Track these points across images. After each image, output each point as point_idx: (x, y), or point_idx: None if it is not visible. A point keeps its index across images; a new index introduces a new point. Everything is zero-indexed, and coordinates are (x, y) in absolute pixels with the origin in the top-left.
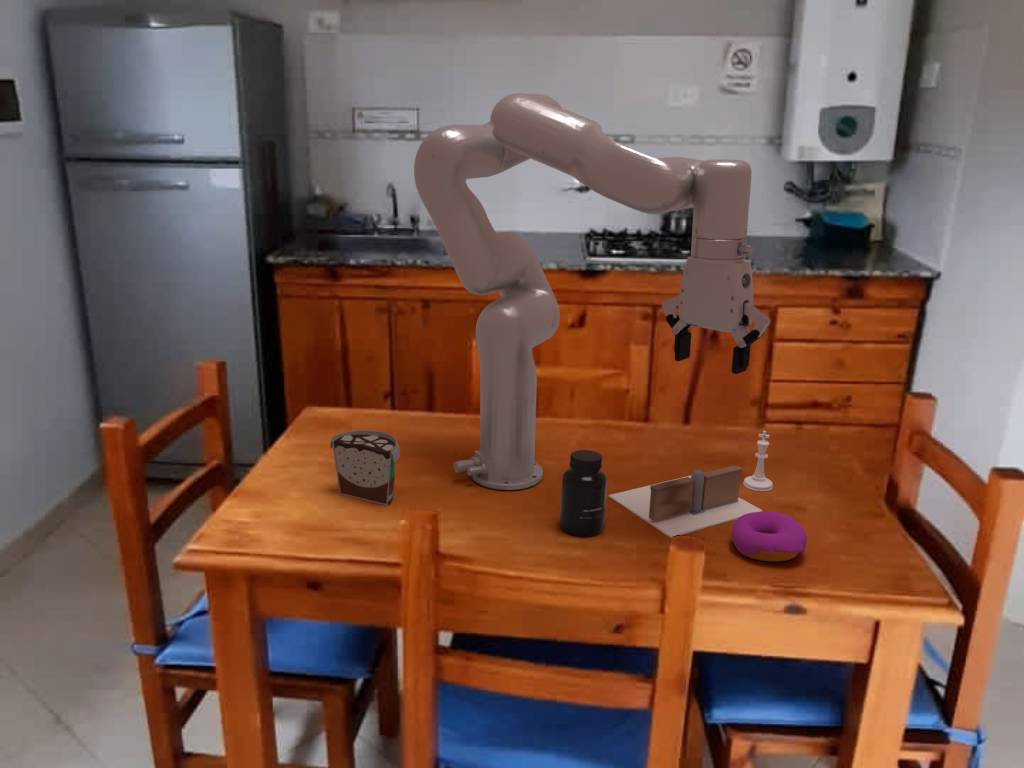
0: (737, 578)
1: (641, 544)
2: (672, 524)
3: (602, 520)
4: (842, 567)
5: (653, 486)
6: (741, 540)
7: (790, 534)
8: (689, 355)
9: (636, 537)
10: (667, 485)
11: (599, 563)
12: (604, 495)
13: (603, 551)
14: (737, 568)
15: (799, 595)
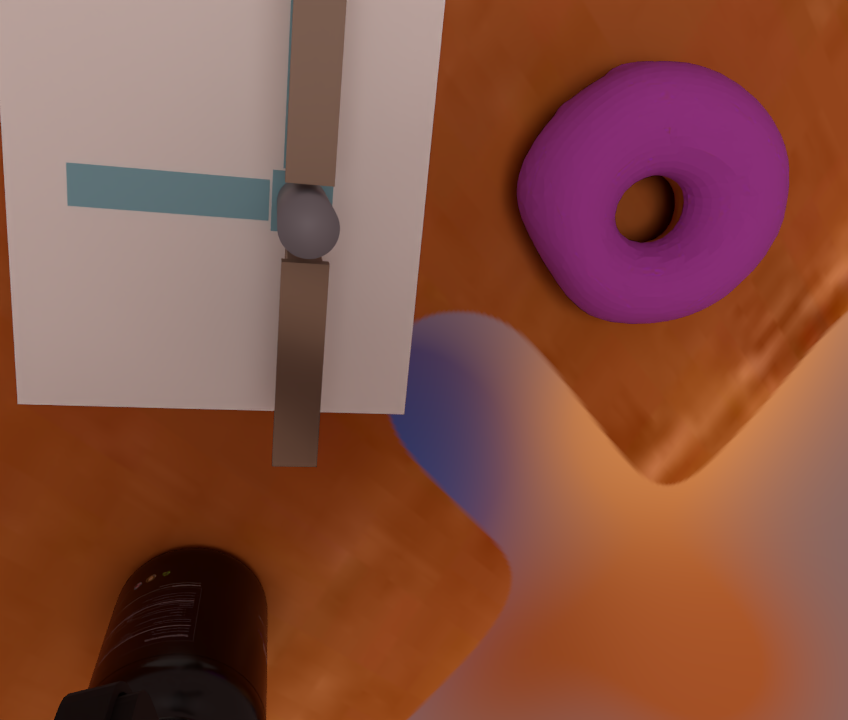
0: (675, 404)
1: (382, 512)
2: (344, 353)
3: (258, 601)
4: (844, 74)
5: (285, 461)
6: (633, 323)
7: (767, 208)
8: (140, 713)
9: (339, 499)
10: (307, 404)
11: (401, 665)
12: (255, 662)
13: (354, 625)
14: (644, 364)
15: (826, 325)
